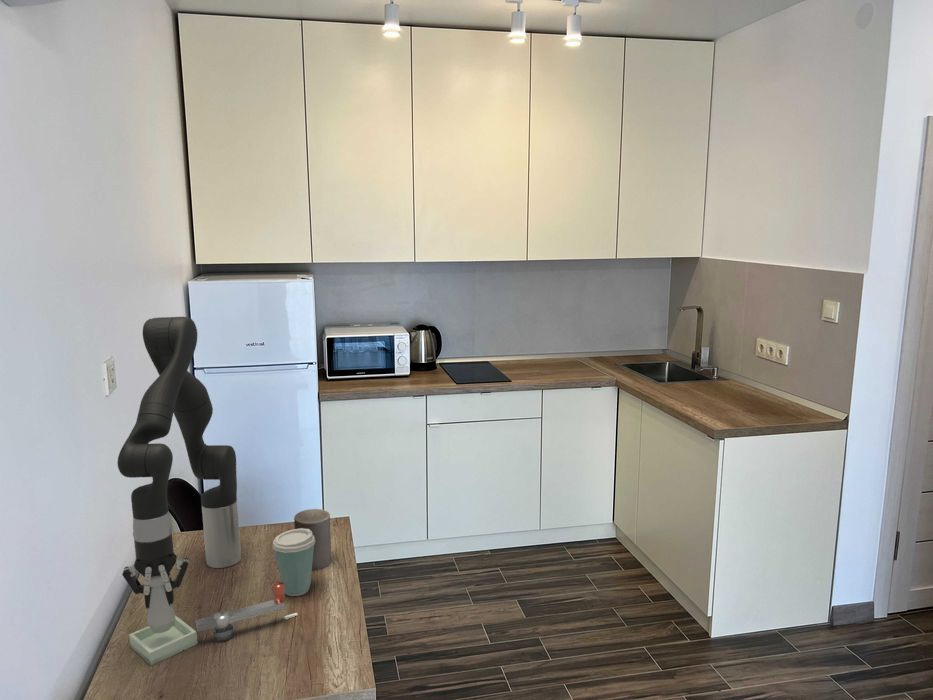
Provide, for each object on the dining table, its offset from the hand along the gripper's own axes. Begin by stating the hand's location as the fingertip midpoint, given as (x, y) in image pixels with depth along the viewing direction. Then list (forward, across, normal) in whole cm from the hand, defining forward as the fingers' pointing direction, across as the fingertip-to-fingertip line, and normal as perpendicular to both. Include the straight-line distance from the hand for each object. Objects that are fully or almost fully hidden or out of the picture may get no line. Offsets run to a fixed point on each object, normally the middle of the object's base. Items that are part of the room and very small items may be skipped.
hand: (160, 606), depth 155 cm
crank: (+7, -17, 0) cm, 18 cm away
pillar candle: (+10, -36, -29) cm, 47 cm away
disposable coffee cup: (+10, -30, -15) cm, 35 cm away
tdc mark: (+9, -28, -2) cm, 29 cm away
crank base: (+9, -13, +1) cm, 16 cm away
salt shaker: (+5, 0, 0) cm, 5 cm away
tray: (+9, 0, 0) cm, 9 cm away
